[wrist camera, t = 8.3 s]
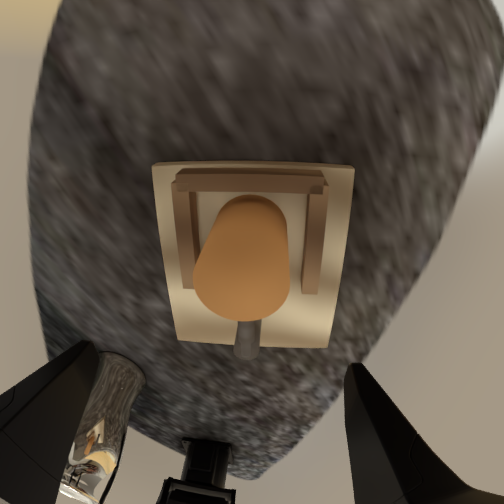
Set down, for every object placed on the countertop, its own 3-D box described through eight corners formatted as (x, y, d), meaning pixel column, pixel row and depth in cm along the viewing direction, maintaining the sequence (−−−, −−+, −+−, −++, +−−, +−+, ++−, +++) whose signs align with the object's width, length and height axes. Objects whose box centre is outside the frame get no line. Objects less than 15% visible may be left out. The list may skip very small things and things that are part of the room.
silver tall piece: (154, 397, 31) (115, 515, 18) (99, 382, 31) (51, 488, 18) (145, 356, 28) (90, 495, 14) (84, 341, 28) (17, 460, 15)
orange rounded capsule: (285, 260, 20) (287, 322, 15) (217, 258, 21) (198, 318, 15) (288, 195, 18) (292, 241, 13) (213, 194, 18) (187, 239, 13)
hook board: (326, 339, 25) (332, 388, 20) (180, 331, 25) (164, 377, 21) (351, 165, 18) (374, 190, 13) (157, 162, 19) (121, 185, 14)
